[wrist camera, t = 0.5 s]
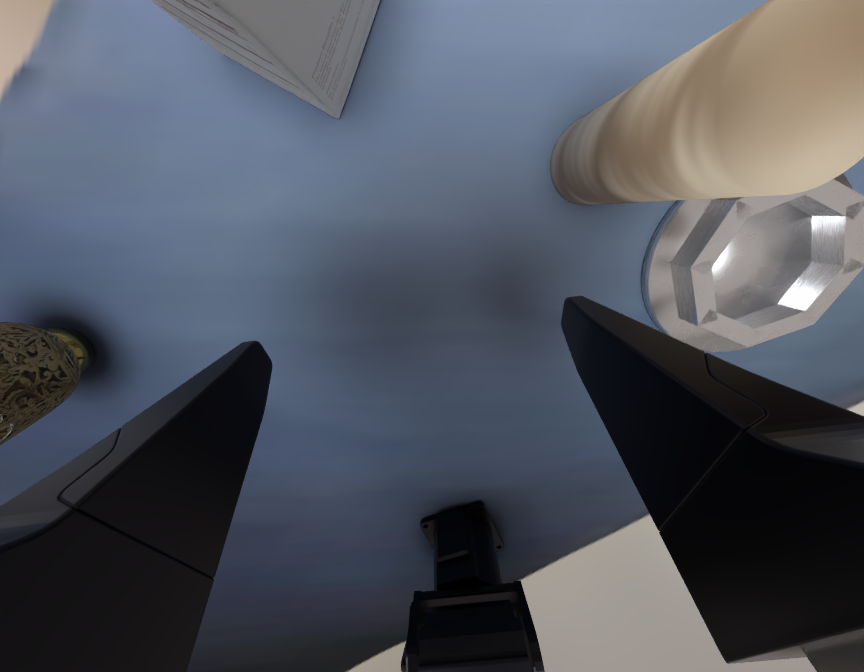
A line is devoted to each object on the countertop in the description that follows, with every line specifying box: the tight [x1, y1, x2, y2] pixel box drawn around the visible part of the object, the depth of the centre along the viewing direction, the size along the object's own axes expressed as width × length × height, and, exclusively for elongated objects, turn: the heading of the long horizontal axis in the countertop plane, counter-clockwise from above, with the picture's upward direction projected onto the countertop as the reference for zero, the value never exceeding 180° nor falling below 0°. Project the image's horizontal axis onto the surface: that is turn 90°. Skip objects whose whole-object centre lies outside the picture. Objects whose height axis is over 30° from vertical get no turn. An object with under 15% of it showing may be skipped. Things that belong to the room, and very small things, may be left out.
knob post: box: [550, 0, 864, 205], centre depth 14 cm, size 5×5×12 cm
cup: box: [0, 322, 94, 445], centre depth 21 cm, size 8×7×8 cm
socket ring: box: [641, 173, 864, 352], centre depth 21 cm, size 13×13×3 cm
